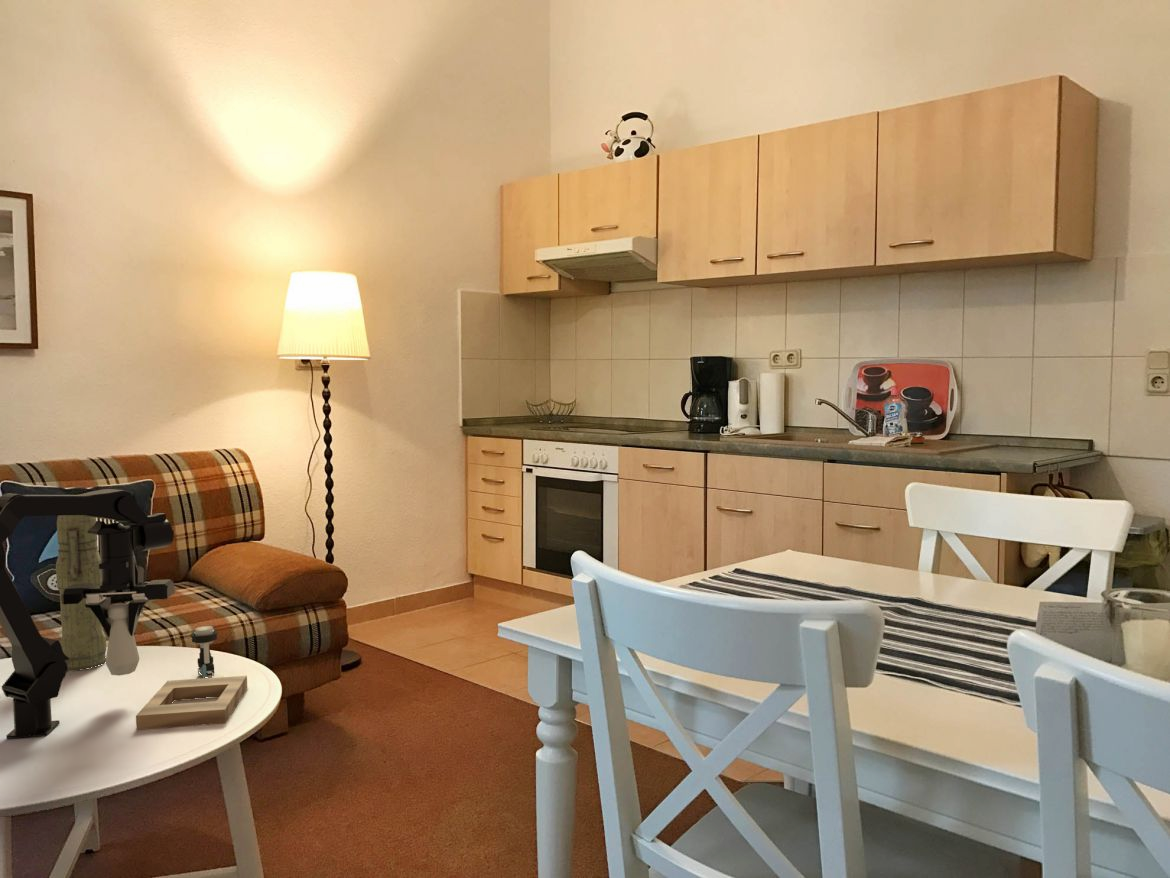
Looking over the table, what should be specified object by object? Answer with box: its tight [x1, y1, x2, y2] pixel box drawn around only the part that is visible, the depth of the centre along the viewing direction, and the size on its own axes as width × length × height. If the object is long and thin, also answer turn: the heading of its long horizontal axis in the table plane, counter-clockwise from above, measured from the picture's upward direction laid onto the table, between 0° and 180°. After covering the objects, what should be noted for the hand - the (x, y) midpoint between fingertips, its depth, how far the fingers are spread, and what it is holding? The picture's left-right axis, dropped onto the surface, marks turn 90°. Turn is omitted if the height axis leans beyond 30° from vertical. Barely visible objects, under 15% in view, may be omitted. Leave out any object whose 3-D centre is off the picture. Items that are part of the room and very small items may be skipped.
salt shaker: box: [105, 603, 140, 677], centre depth 180 cm, size 6×6×13 cm
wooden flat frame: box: [135, 675, 248, 731], centre depth 177 cm, size 20×15×2 cm
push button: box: [189, 625, 219, 678], centre depth 196 cm, size 7×5×10 cm
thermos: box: [55, 515, 107, 671], centre depth 206 cm, size 9×12×35 cm
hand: (121, 636), depth 180 cm, fingers closed on salt shaker, 3 cm apart
